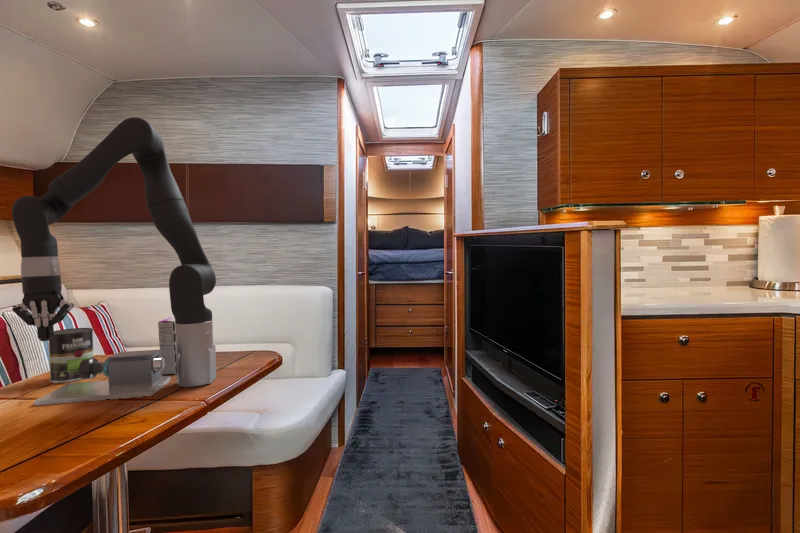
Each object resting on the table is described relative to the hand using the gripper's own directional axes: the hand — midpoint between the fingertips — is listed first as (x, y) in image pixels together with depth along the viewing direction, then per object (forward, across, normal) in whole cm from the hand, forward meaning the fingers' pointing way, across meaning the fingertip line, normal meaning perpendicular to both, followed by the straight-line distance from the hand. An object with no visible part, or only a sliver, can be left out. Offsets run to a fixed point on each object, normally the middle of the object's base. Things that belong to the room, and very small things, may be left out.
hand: (46, 340), depth 101 cm
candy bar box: (+15, -26, -14) cm, 33 cm away
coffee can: (+14, +2, -14) cm, 20 cm away
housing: (+14, -15, +3) cm, 21 cm away
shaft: (+11, -19, +3) cm, 22 cm away
